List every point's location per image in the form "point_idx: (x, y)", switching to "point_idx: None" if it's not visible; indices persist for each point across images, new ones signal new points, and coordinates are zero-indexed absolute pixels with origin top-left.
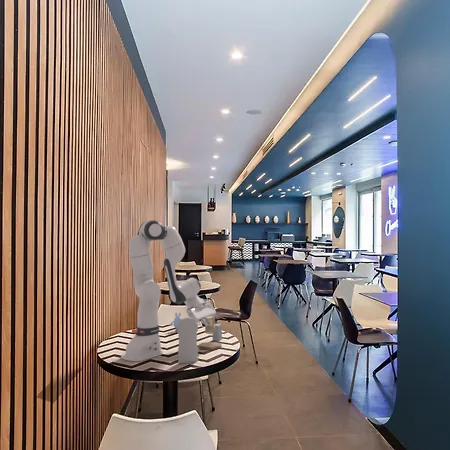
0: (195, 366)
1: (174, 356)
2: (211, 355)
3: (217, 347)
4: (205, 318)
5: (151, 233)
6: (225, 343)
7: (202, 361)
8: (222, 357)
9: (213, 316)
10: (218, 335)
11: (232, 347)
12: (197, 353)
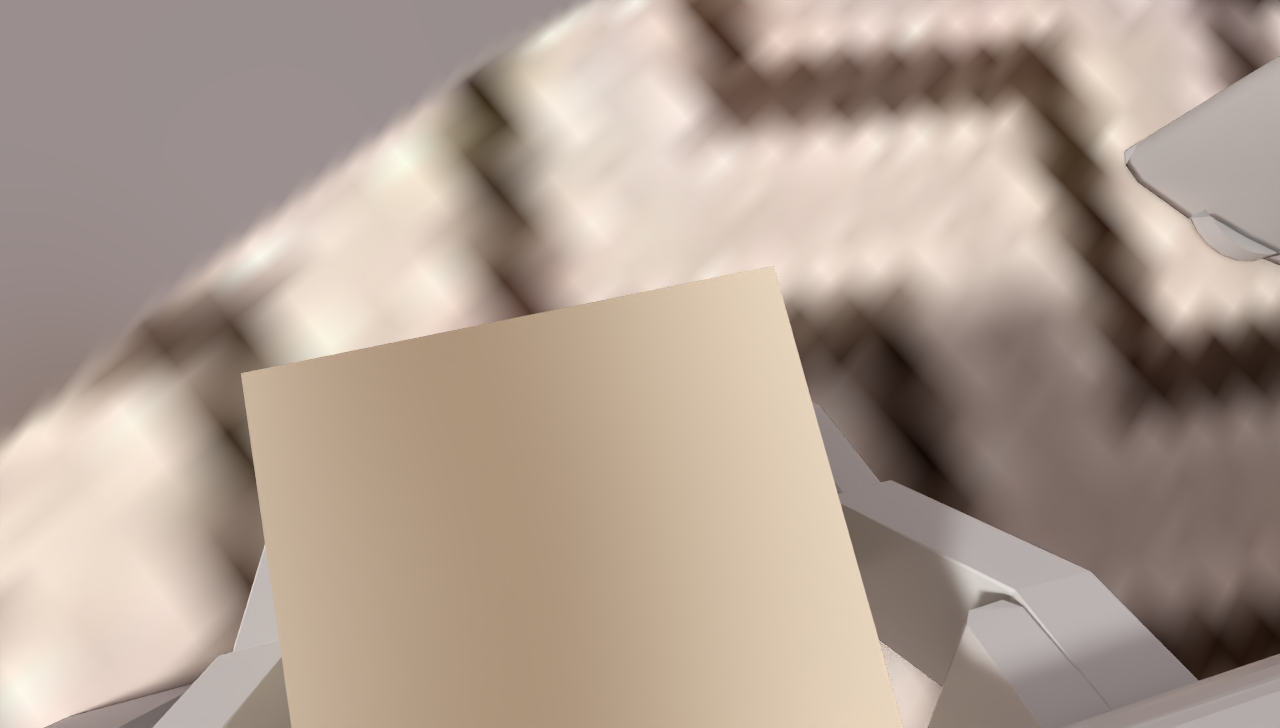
0: (1242, 44)
1: (1266, 546)
2: (866, 176)
3: None
4: (872, 707)
5: None
6: None
7: (1091, 101)
8: (820, 16)
9: (293, 454)
10: (123, 721)
11: (384, 199)
12: (1233, 85)
